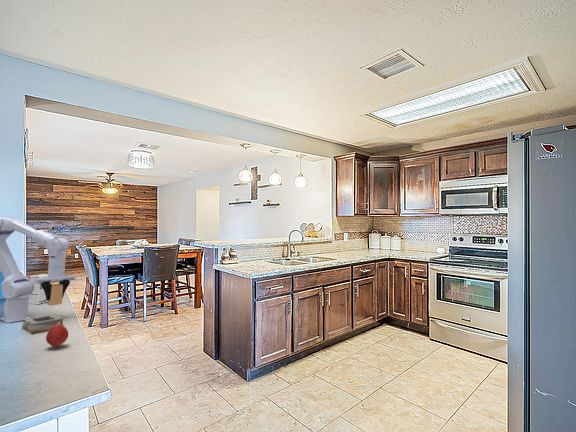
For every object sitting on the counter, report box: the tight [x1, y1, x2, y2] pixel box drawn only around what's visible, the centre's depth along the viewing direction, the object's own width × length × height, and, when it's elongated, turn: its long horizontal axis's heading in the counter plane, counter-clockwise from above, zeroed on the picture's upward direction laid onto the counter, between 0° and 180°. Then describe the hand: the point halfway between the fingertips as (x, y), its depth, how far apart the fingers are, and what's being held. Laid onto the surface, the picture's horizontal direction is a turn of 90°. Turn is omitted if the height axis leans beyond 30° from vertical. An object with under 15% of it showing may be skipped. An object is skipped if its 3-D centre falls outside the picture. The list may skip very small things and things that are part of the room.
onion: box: [45, 322, 69, 348], centre depth 103 cm, size 6×6×8 cm
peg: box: [46, 283, 63, 306], centre depth 133 cm, size 4×4×8 cm
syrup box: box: [29, 273, 48, 305], centre depth 162 cm, size 6×6×14 cm
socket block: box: [21, 314, 65, 335], centre depth 122 cm, size 11×10×4 cm
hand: (54, 299), depth 133 cm, fingers closed on peg, 4 cm apart
